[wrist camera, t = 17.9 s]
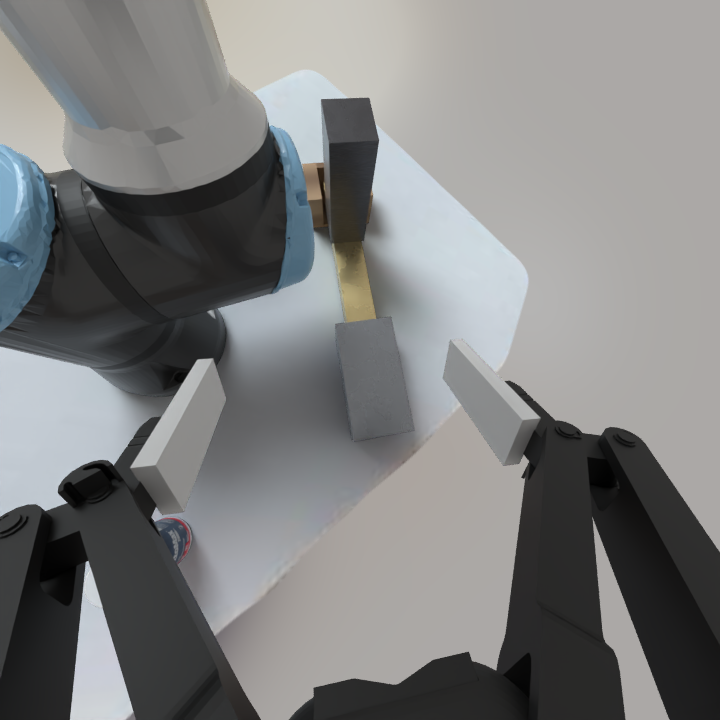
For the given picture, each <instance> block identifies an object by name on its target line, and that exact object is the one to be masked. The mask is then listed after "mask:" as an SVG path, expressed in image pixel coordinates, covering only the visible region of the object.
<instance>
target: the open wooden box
mask: <svg viewBox="0 0 720 720" xmlns="http://www.w3.org/2000/svg"><path fill="white" fill-rule="evenodd" d="M302 165H303V173H304V177H305V181H306V187H307V201H308V203H309V205H310V208H311V213H312V220H313V228H318V227H328V221H327V215H326V208H325V202H324V184H323V183H325V179H324V163H310V164H302ZM372 199H373V193H372V190H371V196H370V203H369V209H368V216H367V222H366V223H369V217H370V211H371V205H372Z"/></svg>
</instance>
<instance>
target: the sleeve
mask: <svg viewBox="0 0 720 720" xmlns="http://www.w3.org/2000/svg"><path fill="white" fill-rule="evenodd" d="M335 339H336V345H337V351H338V358H339V364H340V370H341V376H342V383H343V389H344V395H345V402H346V408H347V414H348V421H349V427H350V433H351V439H352V440H353V441H354V442H355V441H360V440H366V439H371V438H377V437H382V436H388V435H393V434H398V433H404V432H409V431H414V426H413V421H412V416H411V411H410V406H409V402H408V397H407V392H406V387H405V382H404V377H403V373H402V368H401V363H400V358H399V353H398V348H397V343H396V339H395V334H394V329H393V324H392V319H391V317H385V318H377V319H369V320H362V321H354V322H347V323H339V324H335Z"/></svg>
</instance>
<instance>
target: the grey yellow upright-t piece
mask: <svg viewBox="0 0 720 720" xmlns="http://www.w3.org/2000/svg"><path fill="white" fill-rule="evenodd" d="M321 111H322V134H323V156H324V179H325V183H323V184H324V202H325V208H326V215H327V221H328V227H329V233H330V239H331V244H332V249H333V255H334V261H335V267H336V273H337V279H338V285H339V291H340V297H341V303H342V309H343V315H344V321H345V323H347V322H354V321H362V320H369V319H376V314H375V309H374V304H373V299H372V294H371V289H370V284H369V278H368V273H367V268H366V263H365V258H364V253H363V247H362V242H361V241H364V236H365V229H366V222H367V216H368V209H369V203H370V196H371V190H372V183H373V177H374V170H375V163H376V157H377V150H378V144H379V138H378V134H377V130H376V125H375V121H374V117H373V112H372V108H371V104H370V99H369V98H348V99H321Z"/></svg>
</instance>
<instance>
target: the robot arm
mask: <svg viewBox="0 0 720 720" xmlns="http://www.w3.org/2000/svg"><path fill="white" fill-rule="evenodd" d="M0 29H1V31H2V32H3V33H4V35H5V36H6V37H7V39H8V40H9V41H10V42H11V44H12V45H13V46H14V48H15V49H16V50H17V51H18V53H19V54H20V55H21V57H22V58H23V59H24V60H25V62H26V63H27V64H28V65H29V67H30V68H31V69H32V71H33V72H34V73H35V74H36V76H37V77H38V78H39V80H40V81H41V82H42V83H43V85H44V86H45V87H46V89H47V90H48V91H49V92H50V94H51V95H52V96H53V97H54V99H55V100H56V101H57V103H58V104H59V105H60V106H61V108H62V109H63V110H64V114H65V124H64V139H63V151H64V155H65V157H66V159H67V161H68V163H69V164H70V165H71V167H72V168H73V169H71V170H65V171H60V172H55V173H44V172H43V171H42V170H41V169H40V168H39V166H38V165H37V164H36V163H35V162H34V161H32V160H31V159H30V158H29V157H27V156H25V155H23V154H21V153H17V152H16V151H14V150H13V149H11V148H10V147H7V146H6V145H3V144H0V347H5V348H9V349H13V350H17V351H22V352H26V353H30V354H34V355H39V356H43V357H47V358H52V359H56V360H60V361H64V362H69V363H73V364H77V365H82V366H86V367H90V368H91V369H93V370H94V371H95V372H97V373H98V374H99V375H101V376H102V377H103V378H105V379H106V380H107V381H109V382H110V383H111V384H113V385H114V386H116V387H118V388H120V389H122V390H125V391H127V392H131V393H135V394H140V395H146V396H169V395H174V394H176V395H175V396H174V398H173V400H172V401H171V403H170V404H169V406H168V408H167V409H166V411H165V412H164V414H163V416H162V417H154V418H151V419H149V420H148V421H147V422H146V423H145V424H143V425H142V426H141V427H140V428H139V430H138V431H137V433H136V434H135V435H134V438H133V439H132V440H131V441H130V443H129V444H128V447H126V449H125V450H124V452H123V453H122V454H121V456H120V457H119V459H118V460H117V462H116V463H115V465H114V466H113V464H112V463H110V462H109V461H106V460H98V461H93V462H90V463H88V464H85V465H83V466H81V467H79V468H77V469H76V470H74V471H72V472H71V473H70V474H69V475H68V476H67V477H65V478H64V479H63V481H62V482H61V484H60V485H59V487H58V494H59V495H60V496H61V497H62V498H63V499H64V500H65V501H66V502H67V504H64V505H61V506H58V507H56V508H53V509H50V510H47V511H44V510H43V509H42V508H41V507H40V506H38V505H36V504H34V505H25V506H22V507H18V508H16V509H14V510H12V511H10V512H8V513H6V514H4V515H3V516H1V517H0V720H70V712H71V702H72V692H73V683H74V673H75V663H76V653H77V643H78V633H79V623H80V613H81V603H82V593H83V583H84V573H85V563H86V562H87V561H89V564H90V567H91V570H92V574H93V577H94V580H95V584H96V587H97V590H98V594H99V597H100V600H101V604H102V607H103V610H104V614H105V617H106V620H107V624H108V627H109V631H110V634H111V637H112V641H113V644H114V647H115V651H116V654H117V657H118V661H119V664H120V667H121V671H122V674H123V677H124V681H125V684H126V687H127V691H128V694H129V698H130V701H131V704H132V708H133V711H134V714H135V717H136V720H261V719H260V717H259V716H258V714H257V712H256V711H255V709H254V707H253V706H252V704H251V703H250V701H249V700H248V698H247V696H246V695H245V693H244V691H243V689H242V687H241V685H240V683H239V681H238V680H237V678H236V676H235V674H234V672H233V670H232V668H231V666H230V664H229V662H228V661H227V659H226V657H225V655H224V653H223V651H222V649H221V647H220V645H219V644H218V642H217V640H216V638H215V636H214V634H213V632H212V630H211V628H210V626H209V625H208V623H207V621H206V619H205V617H204V615H203V613H202V611H201V609H200V607H199V606H198V604H197V602H196V600H195V598H194V596H193V594H192V592H191V590H190V588H189V587H188V585H187V583H186V581H185V579H184V577H183V575H182V573H181V571H180V569H179V568H178V566H177V564H176V562H175V560H174V558H173V556H172V554H171V552H170V550H169V549H168V547H167V545H166V543H165V541H164V539H163V537H162V535H161V533H160V531H159V530H158V528H157V526H156V524H155V522H154V520H153V519H152V518H151V516H152V514H153V512H154V510H155V508H156V507H157V508H158V510H159V511H160V513H161V514H162V515H166V514H173V513H180V512H184V511H185V508H186V505H187V503H188V500H189V497H190V495H191V492H192V489H193V487H194V484H195V481H196V479H197V476H198V473H199V471H200V468H201V465H202V463H203V460H204V457H205V455H206V452H207V449H208V447H209V444H210V441H211V439H212V436H213V433H214V431H215V428H216V425H217V423H218V420H219V417H220V415H221V412H222V409H223V407H224V404H225V401H226V396H225V393H224V390H223V387H222V384H221V381H220V378H219V375H218V372H217V369H216V365H217V363H218V362H219V360H220V358H221V355H222V353H223V350H224V346H225V339H226V331H225V325H224V321H223V318H222V316H221V314H220V312H219V311H218V309H217V308H221V307H224V306H228V305H232V304H235V303H239V302H242V301H246V300H249V299H253V298H257V297H260V296H264V295H267V294H274V293H276V292H278V291H279V290H280V289H282V288H285V287H288V286H290V285H293V284H296V283H298V282H301V281H302V280H304V279H305V278H306V277H307V276H308V275H309V273H310V271H311V269H312V266H313V261H314V230H313V220H312V213H311V208H310V205H309V203H308V201H307V187H306V181H305V177H304V173H303V169H302V165H301V162H300V159H299V156H298V153H297V150H296V148H295V145H294V143H293V141H292V139H291V137H290V136H289V134H288V133H287V132H286V131H284V130H283V129H281V128H276V127H274V126H270V127H269V123H268V119H267V115H266V111H265V108H264V106H263V104H262V102H261V101H260V100H259V99H258V98H257V96H256V95H254V94H253V93H252V92H251V91H250V90H248V89H247V88H246V87H245V86H243V85H242V84H241V83H240V82H238V81H237V80H236V79H235V78H234V77H232V76H231V75H230V74H229V72H228V70H227V67H226V64H225V60H224V57H223V54H222V51H221V48H220V44H219V41H218V38H217V35H216V32H215V28H214V25H213V22H212V19H211V15H210V12H209V9H208V6H207V3H206V0H0ZM443 379H444V380H445V382H446V383H447V385H448V386H449V388H450V389H451V391H452V392H453V394H454V395H455V396H456V398H457V399H458V401H459V402H460V404H461V405H462V407H463V408H464V410H465V411H466V412H467V414H468V415H469V417H470V418H471V420H472V421H473V422H474V424H475V425H476V427H477V428H478V430H479V431H480V433H481V434H482V435H483V437H484V439H485V440H486V441H487V443H488V444H489V446H490V447H491V449H492V450H493V452H494V453H495V455H496V456H497V457H498V459H499V460H500V462H501V463H502V465H503V466H506V465H514V464H519V463H520V461H521V459H522V457H523V455H525V456H526V458H527V459H528V460H529V463H528V466H527V467H526V469H525V471H524V473H523V475H522V478H525V485H524V493H523V501H522V508H521V516H520V524H519V532H518V540H517V548H516V556H515V564H514V572H513V580H512V588H511V595H510V604H509V611H508V619H507V627H506V634H505V638H504V642H503V645H502V648H501V650H500V655H499V658H498V664H497V670H493V669H492V668H490V667H487V666H486V665H483V664H480V663H477V662H472V660H471V657H470V654H469V652H465V653H461V654H457V655H452V656H448V657H444V658H440V659H435V660H432V661H431V662H430V663H428V664H427V665H425V666H424V667H422V668H421V669H419V670H418V671H417V672H415V673H414V674H412V675H411V676H410V677H408V678H407V679H405V680H404V681H402V682H401V683H399V684H397V685H391V684H385V683H379V682H372V681H366V680H360V679H350V680H345V681H341V682H337V683H333V684H328V685H324V686H319V687H315V688H314V697H313V698H312V699H310V700H309V701H307V702H306V703H305V704H304V705H303V706H302V707H300V708H299V709H298V710H297V711H296V712H295V713H294V714H293V715H292V717H291V718H290V719H289V720H625V713H624V704H623V696H622V686H621V678H620V670H619V665H618V660H617V657H616V655H615V653H614V651H613V649H612V648H611V647H609V646H608V645H607V644H606V643H605V640H604V638H603V632H602V623H601V611H600V599H599V588H598V577H597V565H596V554H595V543H594V531H593V520H592V517H593V519H594V522H595V524H596V527H597V530H598V532H599V535H600V538H601V540H602V543H603V546H604V548H605V551H606V554H607V556H608V558H609V561H610V564H611V567H612V569H613V572H614V575H615V577H616V580H617V583H618V585H619V588H620V590H621V593H622V596H623V598H624V601H625V604H626V606H627V609H628V612H629V614H630V617H631V620H632V622H633V625H634V627H635V630H636V633H637V635H638V638H639V641H640V643H641V646H642V649H643V651H644V654H645V656H646V659H647V662H648V664H649V667H650V669H651V672H652V675H653V678H654V680H655V683H656V685H657V688H658V691H659V693H660V696H661V699H662V701H663V704H664V707H665V709H666V712H667V714H668V717H669V719H670V720H720V552H719V551H718V549H717V548H716V546H715V545H714V543H713V542H712V540H711V539H710V538H709V536H708V535H707V533H706V532H705V530H704V529H703V527H702V526H701V524H700V523H699V521H698V520H697V519H696V517H695V516H694V514H693V513H692V511H691V510H690V508H689V507H688V505H687V504H686V502H685V501H684V499H683V498H682V497H681V495H680V494H679V493H678V491H677V489H676V488H675V486H674V485H673V483H672V482H671V481H670V479H669V478H668V476H667V475H666V473H665V472H664V470H663V469H662V467H661V466H660V464H659V463H658V462H657V460H656V459H655V457H654V456H653V454H652V453H651V451H650V450H649V449H648V447H647V446H646V444H645V443H644V442H643V441H642V440H641V439H640V438H639V437H637V436H636V435H635V434H633V433H631V432H629V431H626V430H624V429H620V428H615V427H609V428H606V429H605V430H604V432H603V433H602V435H601V436H599V435H592V434H585V433H582V432H581V431H580V430H579V429H578V428H576V427H575V426H573V425H571V424H569V423H566V422H563V421H555V420H554V419H553V418H552V417H551V416H550V415H549V414H548V413H547V412H546V411H545V410H544V409H543V408H542V407H541V406H540V405H539V404H538V403H537V402H536V401H533V399H532V398H531V397H530V396H529V395H527V393H526V392H525V391H524V390H523V389H522V388H521V387H520V386H518V385H517V384H515V383H513V382H511V381H504V380H503V379H502V378H501V377H500V376H499V375H498V374H497V373H496V372H495V371H494V370H493V369H492V368H491V367H490V366H489V365H488V364H487V363H486V362H485V361H484V360H483V359H482V358H481V357H480V356H479V355H478V354H477V353H476V352H475V351H474V350H473V349H472V348H471V347H470V346H469V345H468V344H467V343H466V342H465V341H464V340H463V339H454V340H450V344H449V349H448V354H447V359H446V364H445V369H444V375H443ZM525 476H526V477H525Z"/></svg>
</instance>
